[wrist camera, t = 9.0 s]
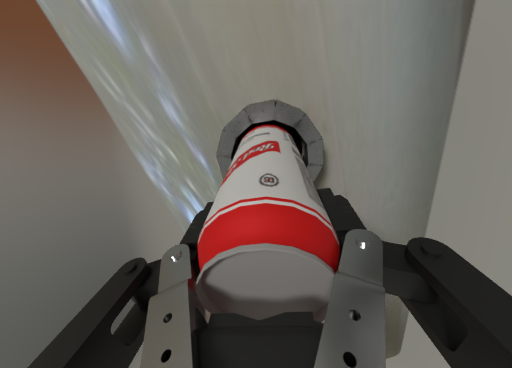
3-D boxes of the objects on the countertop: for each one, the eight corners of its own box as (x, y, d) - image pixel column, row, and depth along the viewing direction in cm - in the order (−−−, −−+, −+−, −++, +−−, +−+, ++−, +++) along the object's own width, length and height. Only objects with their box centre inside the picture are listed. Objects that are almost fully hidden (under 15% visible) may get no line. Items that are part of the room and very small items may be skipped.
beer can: (306, 156, 20) (389, 314, 6) (261, 184, 23) (253, 350, 9) (273, 109, 18) (295, 195, 4) (228, 145, 20) (142, 283, 6)
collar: (205, 145, 22) (196, 153, 19) (277, 76, 18) (279, 74, 15) (263, 203, 25) (262, 217, 23) (334, 157, 21) (343, 167, 19)
